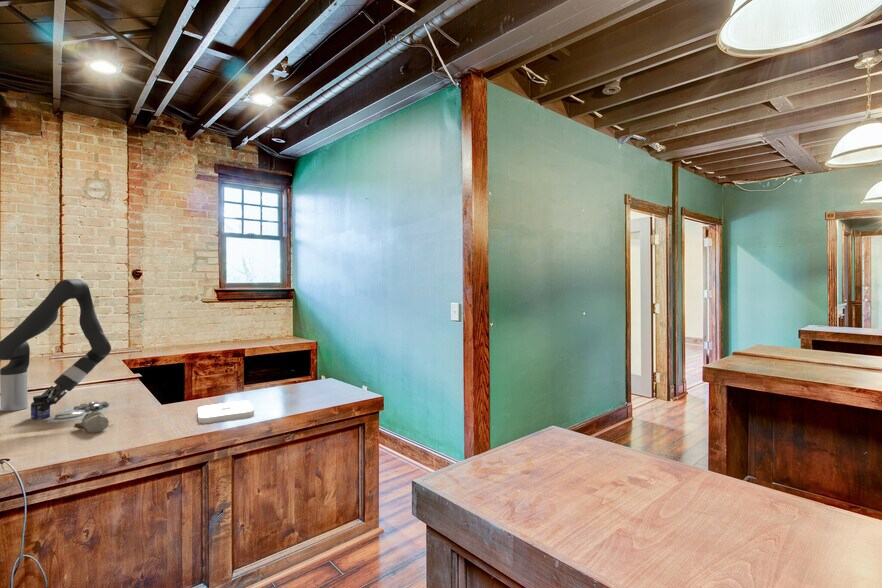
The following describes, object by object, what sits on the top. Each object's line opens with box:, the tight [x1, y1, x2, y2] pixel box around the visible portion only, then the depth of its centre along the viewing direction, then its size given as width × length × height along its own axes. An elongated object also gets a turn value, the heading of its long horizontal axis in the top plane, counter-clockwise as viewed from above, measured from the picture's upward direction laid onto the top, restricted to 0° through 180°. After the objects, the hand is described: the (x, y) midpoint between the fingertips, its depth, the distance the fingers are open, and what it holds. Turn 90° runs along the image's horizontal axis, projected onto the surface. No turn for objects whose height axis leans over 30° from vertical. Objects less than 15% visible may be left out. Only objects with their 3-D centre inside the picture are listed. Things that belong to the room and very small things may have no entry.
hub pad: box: [54, 410, 85, 419], centre depth 189 cm, size 10×10×1 cm
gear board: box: [45, 403, 110, 424], centre depth 193 cm, size 24×17×2 cm
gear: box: [73, 401, 110, 412], centre depth 201 cm, size 13×13×3 cm
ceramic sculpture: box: [74, 409, 110, 434], centre depth 174 cm, size 11×9×15 cm
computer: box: [197, 400, 255, 424], centre depth 196 cm, size 22×22×3 cm
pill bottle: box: [30, 394, 51, 421], centre depth 186 cm, size 6×6×11 cm
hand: (37, 409), depth 185 cm, fingers open, 8 cm apart
